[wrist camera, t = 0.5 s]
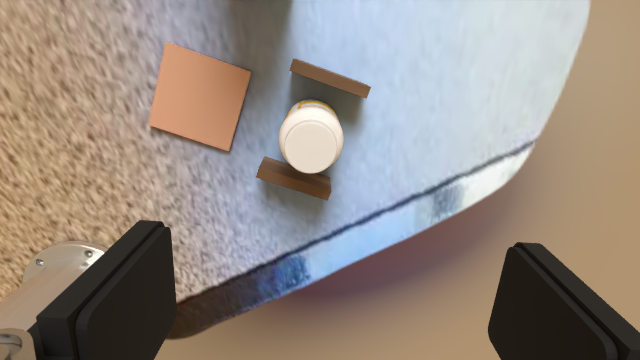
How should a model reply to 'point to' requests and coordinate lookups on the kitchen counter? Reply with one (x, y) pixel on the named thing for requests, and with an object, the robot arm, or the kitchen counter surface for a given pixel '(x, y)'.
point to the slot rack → (287, 173)
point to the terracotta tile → (198, 96)
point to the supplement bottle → (311, 136)
